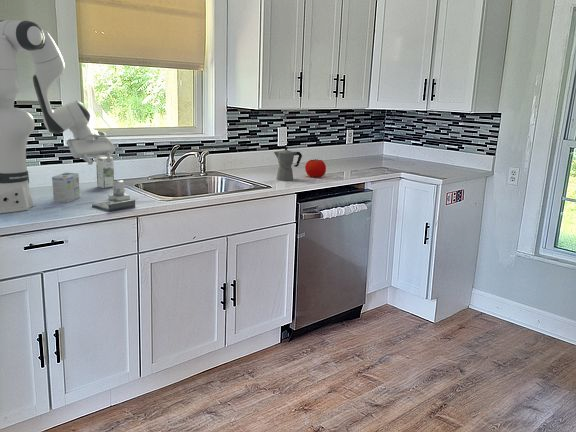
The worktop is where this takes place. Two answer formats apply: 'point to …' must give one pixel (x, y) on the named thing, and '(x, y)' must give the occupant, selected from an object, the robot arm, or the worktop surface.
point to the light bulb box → (66, 187)
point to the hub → (118, 191)
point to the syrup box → (105, 172)
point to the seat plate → (115, 205)
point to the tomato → (315, 168)
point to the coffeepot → (286, 164)
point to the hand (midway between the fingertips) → (100, 162)
